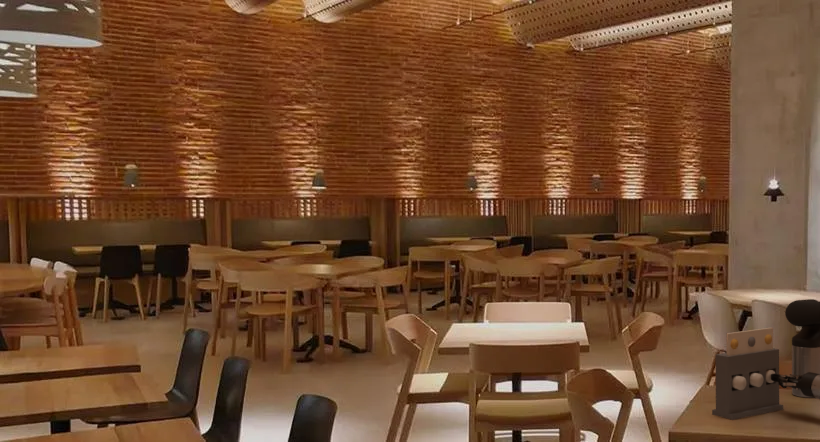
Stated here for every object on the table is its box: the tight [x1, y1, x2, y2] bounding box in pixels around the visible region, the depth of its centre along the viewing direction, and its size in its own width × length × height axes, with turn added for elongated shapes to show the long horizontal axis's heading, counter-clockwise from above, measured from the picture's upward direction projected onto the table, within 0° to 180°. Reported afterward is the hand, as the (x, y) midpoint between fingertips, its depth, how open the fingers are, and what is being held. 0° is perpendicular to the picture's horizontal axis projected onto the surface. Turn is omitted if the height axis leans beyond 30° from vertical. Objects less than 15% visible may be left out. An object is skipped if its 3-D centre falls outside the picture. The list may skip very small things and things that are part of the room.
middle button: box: [749, 372, 764, 387], centre depth 274 cm, size 4×3×4 cm
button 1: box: [732, 375, 746, 390], centre depth 270 cm, size 4×3×4 cm
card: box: [726, 327, 774, 356], centre depth 275 cm, size 21×1×7 cm, turn 119°
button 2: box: [766, 369, 775, 383], centre depth 280 cm, size 4×3×4 cm
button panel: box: [711, 347, 784, 421], centre depth 277 cm, size 24×8×20 cm, turn 119°
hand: (772, 376), depth 278 cm, fingers closed
